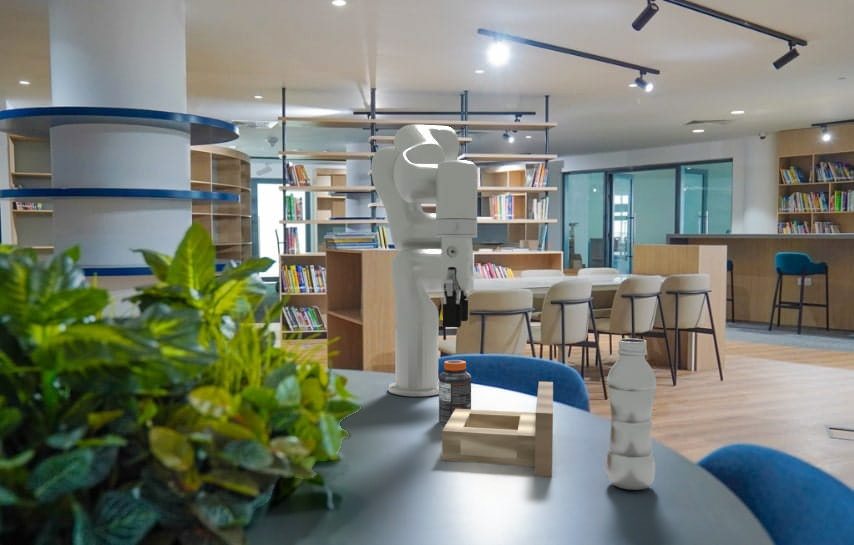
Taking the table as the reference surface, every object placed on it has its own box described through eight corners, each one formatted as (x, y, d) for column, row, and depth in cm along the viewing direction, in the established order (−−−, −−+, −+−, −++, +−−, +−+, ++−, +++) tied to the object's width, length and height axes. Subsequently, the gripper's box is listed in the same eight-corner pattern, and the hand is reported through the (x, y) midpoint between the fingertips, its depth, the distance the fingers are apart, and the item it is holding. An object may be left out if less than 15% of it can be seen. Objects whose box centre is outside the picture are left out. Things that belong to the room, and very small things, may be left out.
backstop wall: (538, 432, 118) (538, 381, 117) (552, 433, 117) (552, 382, 117) (534, 475, 96) (535, 412, 96) (552, 476, 96) (552, 413, 95)
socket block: (455, 434, 117) (455, 408, 116) (537, 439, 114) (538, 412, 114) (442, 460, 103) (442, 430, 103) (535, 466, 100) (535, 436, 100)
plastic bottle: (663, 486, 92) (666, 340, 91) (641, 499, 87) (644, 345, 86) (619, 475, 97) (622, 335, 96) (596, 487, 92) (598, 340, 91)
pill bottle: (471, 418, 127) (472, 358, 127) (470, 427, 121) (471, 364, 121) (440, 417, 128) (440, 357, 127) (437, 426, 122) (437, 363, 121)
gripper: (471, 228, 114) (470, 330, 115) (481, 230, 131) (481, 319, 132) (427, 228, 115) (426, 329, 116) (443, 230, 132) (443, 318, 133)
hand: (455, 323), depth 124 cm, fingers open, 9 cm apart
